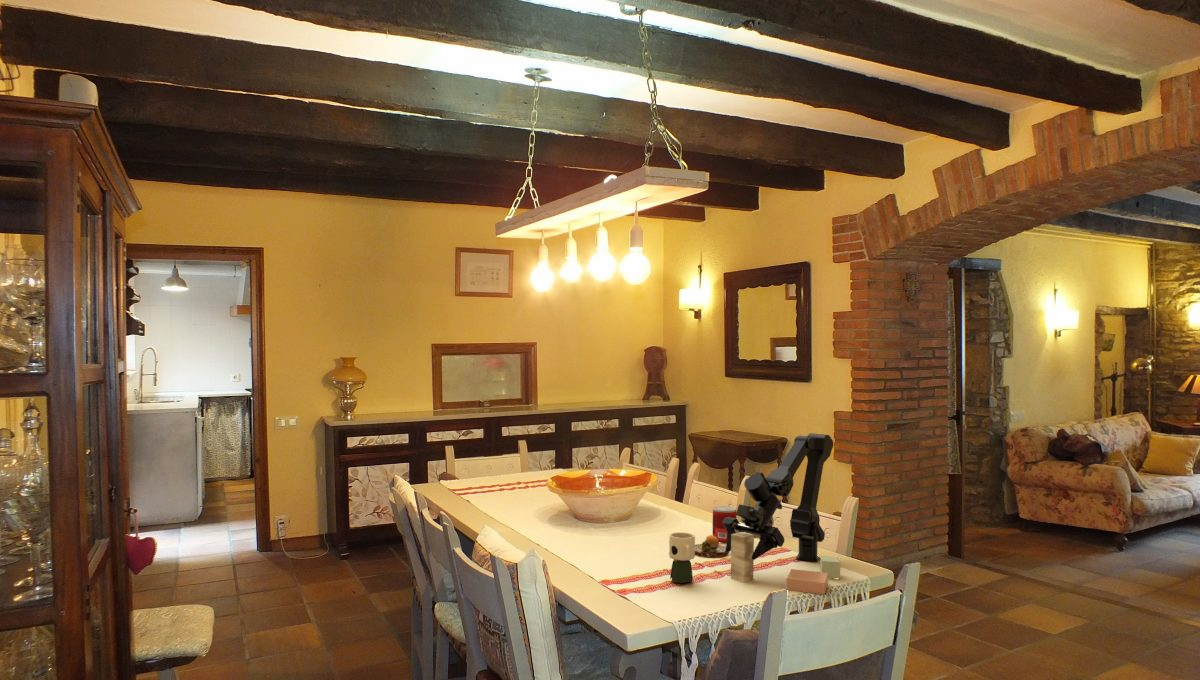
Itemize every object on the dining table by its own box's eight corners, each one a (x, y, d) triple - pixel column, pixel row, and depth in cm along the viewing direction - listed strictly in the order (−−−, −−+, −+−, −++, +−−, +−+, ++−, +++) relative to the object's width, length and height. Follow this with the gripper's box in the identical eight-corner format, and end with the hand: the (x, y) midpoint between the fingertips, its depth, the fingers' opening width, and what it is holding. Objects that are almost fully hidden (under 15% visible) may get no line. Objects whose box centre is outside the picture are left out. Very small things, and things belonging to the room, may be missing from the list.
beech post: (740, 575, 219) (741, 531, 219) (753, 579, 215) (753, 534, 215) (730, 578, 216) (731, 534, 216) (743, 582, 212) (744, 537, 212)
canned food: (740, 542, 257) (740, 509, 258) (719, 544, 255) (720, 511, 255) (728, 537, 265) (728, 505, 265) (708, 538, 262) (708, 506, 262)
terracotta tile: (791, 579, 215) (791, 568, 215) (827, 583, 212) (827, 573, 212) (786, 589, 206) (786, 578, 206) (824, 594, 202) (824, 583, 202)
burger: (716, 547, 251) (716, 525, 251) (735, 557, 240) (735, 533, 240) (684, 550, 246) (684, 527, 247) (701, 560, 235) (701, 535, 236)
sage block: (820, 573, 222) (820, 556, 222) (838, 574, 221) (838, 557, 221) (821, 578, 217) (822, 561, 217) (840, 579, 216) (840, 562, 216)
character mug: (663, 576, 216) (663, 531, 216) (686, 575, 218) (687, 530, 218) (675, 588, 205) (676, 540, 206) (700, 587, 207) (701, 539, 207)
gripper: (726, 489, 225) (701, 532, 218) (779, 499, 212) (754, 544, 204) (742, 512, 231) (718, 555, 223) (794, 523, 217) (771, 569, 209)
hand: (739, 555), depth 215 cm, fingers open, 9 cm apart
